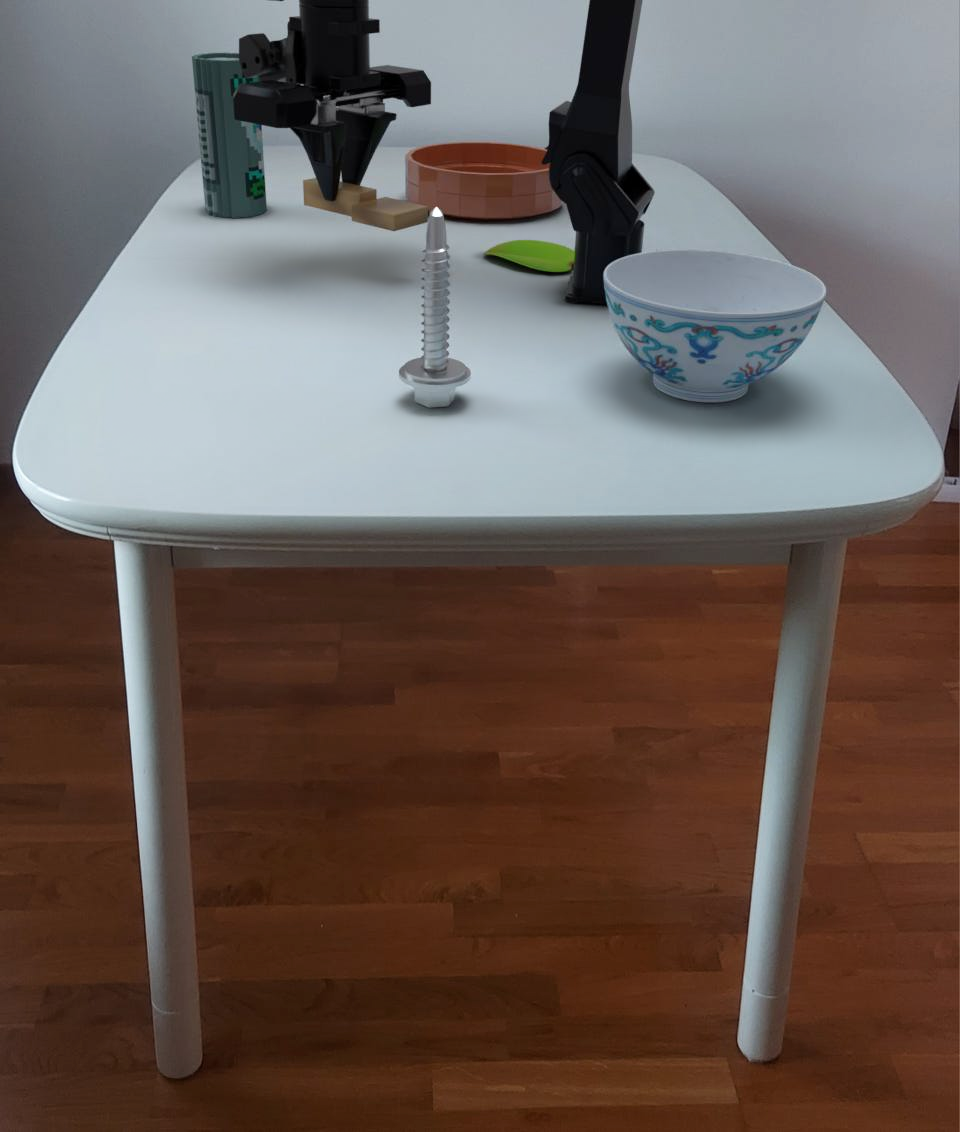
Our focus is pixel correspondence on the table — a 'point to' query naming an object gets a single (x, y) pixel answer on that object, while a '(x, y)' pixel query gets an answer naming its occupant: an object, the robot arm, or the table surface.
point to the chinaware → (710, 317)
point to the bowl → (480, 180)
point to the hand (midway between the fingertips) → (339, 198)
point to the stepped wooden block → (366, 206)
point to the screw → (435, 327)
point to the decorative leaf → (536, 254)
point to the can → (227, 140)
